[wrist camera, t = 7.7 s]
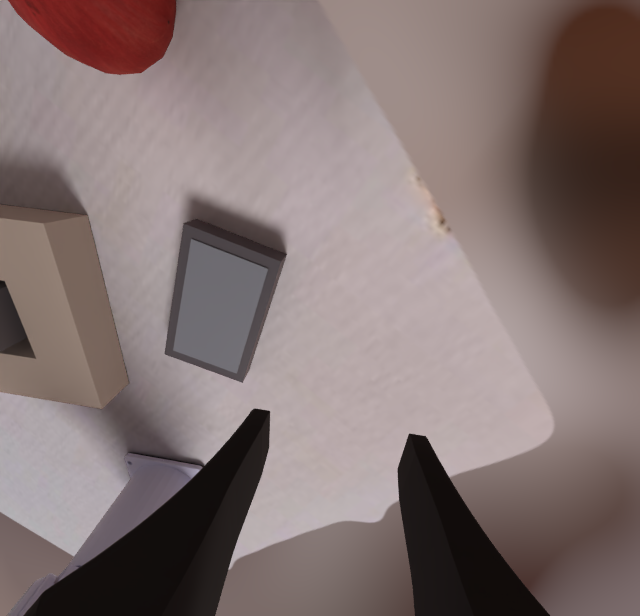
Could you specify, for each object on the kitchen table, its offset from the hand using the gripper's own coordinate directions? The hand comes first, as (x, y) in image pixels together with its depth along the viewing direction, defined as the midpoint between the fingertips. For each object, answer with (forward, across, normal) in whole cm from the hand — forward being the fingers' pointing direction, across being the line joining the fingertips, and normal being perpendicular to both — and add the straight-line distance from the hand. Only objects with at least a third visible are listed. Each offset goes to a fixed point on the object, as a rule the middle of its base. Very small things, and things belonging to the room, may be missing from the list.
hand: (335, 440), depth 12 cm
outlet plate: (+10, +24, +2) cm, 27 cm away
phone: (+10, +8, 0) cm, 13 cm away
